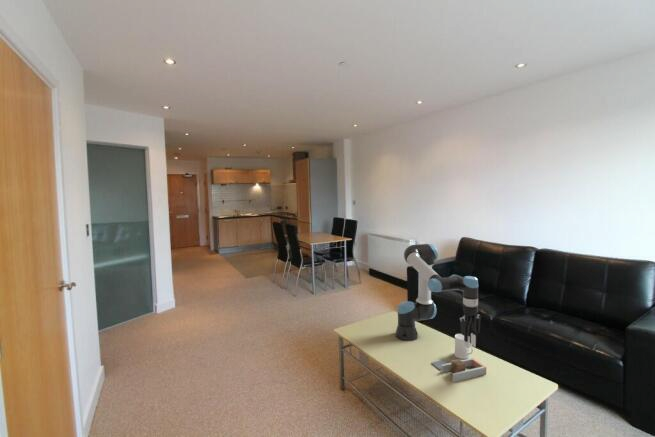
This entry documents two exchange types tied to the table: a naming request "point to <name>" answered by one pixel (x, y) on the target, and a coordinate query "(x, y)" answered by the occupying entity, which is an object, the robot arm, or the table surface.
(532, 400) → the table surface
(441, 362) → the coaster
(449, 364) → the channel
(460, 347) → the mug
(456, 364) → the block
